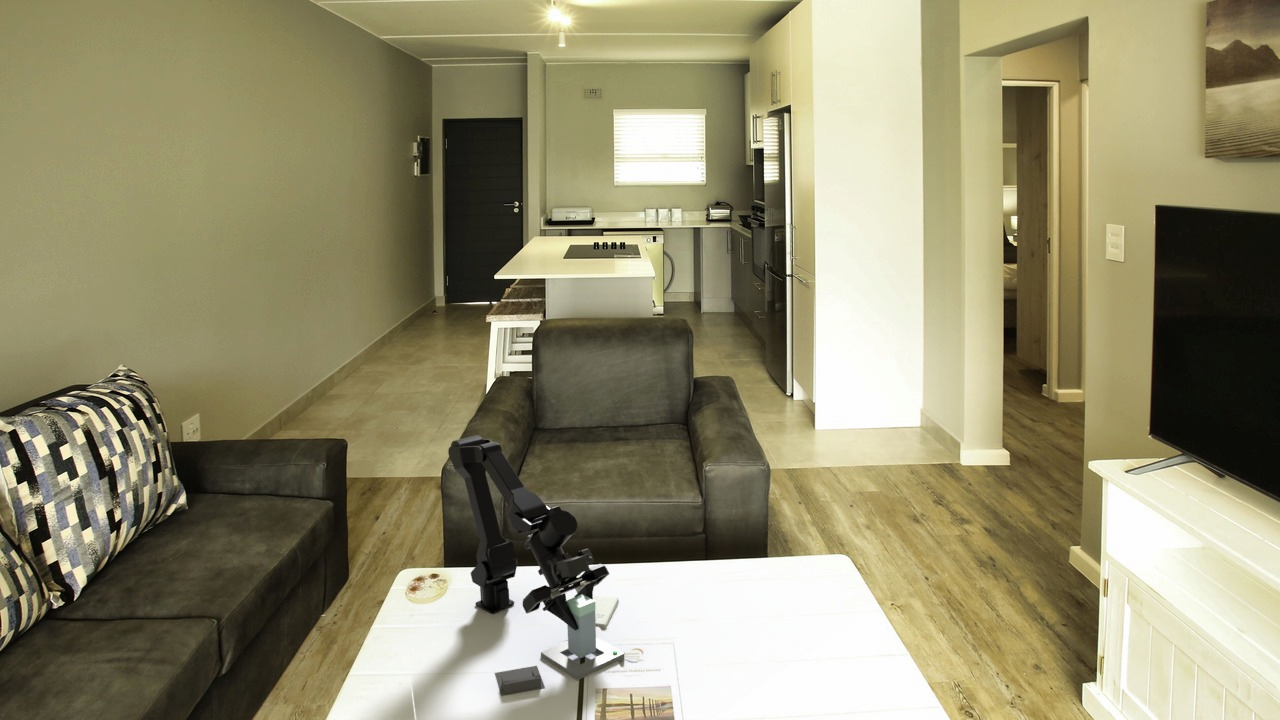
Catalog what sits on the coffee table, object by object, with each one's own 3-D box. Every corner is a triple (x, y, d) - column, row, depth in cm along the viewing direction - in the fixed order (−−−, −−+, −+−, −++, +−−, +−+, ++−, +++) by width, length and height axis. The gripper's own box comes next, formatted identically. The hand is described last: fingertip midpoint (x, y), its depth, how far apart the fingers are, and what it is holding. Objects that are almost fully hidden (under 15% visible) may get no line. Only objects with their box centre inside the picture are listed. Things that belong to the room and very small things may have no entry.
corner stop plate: (494, 675, 184) (494, 663, 183) (536, 667, 186) (536, 656, 186) (501, 698, 176) (500, 686, 176) (545, 690, 178) (544, 678, 178)
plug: (567, 650, 189) (566, 600, 186) (583, 643, 192) (582, 594, 189) (580, 658, 186) (579, 607, 184) (596, 651, 189) (595, 600, 186)
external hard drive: (618, 604, 213) (605, 630, 202) (584, 601, 215) (569, 627, 203) (618, 597, 213) (605, 623, 201) (583, 594, 215) (568, 620, 203)
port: (541, 658, 190) (540, 650, 189) (587, 638, 197) (586, 630, 197) (577, 682, 181) (577, 674, 180) (624, 659, 189) (624, 651, 188)
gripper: (528, 553, 181) (565, 626, 175) (602, 527, 193) (639, 594, 187) (507, 577, 188) (541, 648, 182) (579, 550, 200) (614, 616, 195)
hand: (585, 625), depth 186 cm, fingers closed on plug, 4 cm apart
